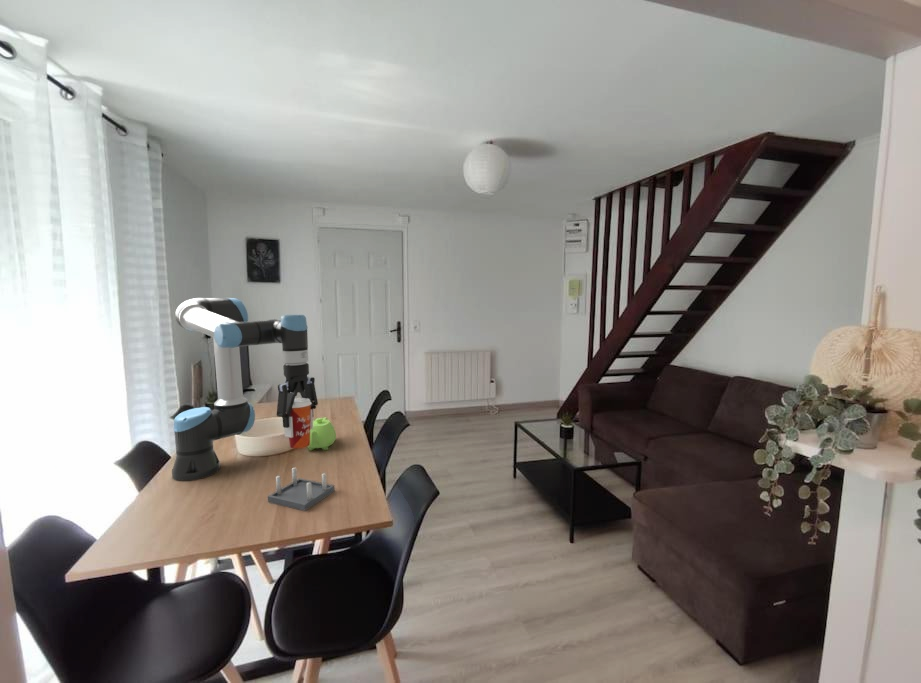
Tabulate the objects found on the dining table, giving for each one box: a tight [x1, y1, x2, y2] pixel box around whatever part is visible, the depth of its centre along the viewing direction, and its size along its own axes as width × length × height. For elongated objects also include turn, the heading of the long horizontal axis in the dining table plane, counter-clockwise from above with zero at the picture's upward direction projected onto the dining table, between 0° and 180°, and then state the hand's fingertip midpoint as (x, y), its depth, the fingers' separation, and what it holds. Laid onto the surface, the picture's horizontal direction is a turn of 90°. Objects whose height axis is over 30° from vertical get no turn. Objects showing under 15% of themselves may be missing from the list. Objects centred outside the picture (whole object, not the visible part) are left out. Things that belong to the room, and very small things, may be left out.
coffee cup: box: [286, 397, 312, 450], centre depth 133 cm, size 8×8×15 cm
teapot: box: [306, 416, 337, 451], centre depth 179 cm, size 20×13×13 cm
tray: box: [267, 466, 336, 512], centre depth 135 cm, size 15×14×7 cm
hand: (299, 432), depth 134 cm, fingers closed on coffee cup, 8 cm apart
